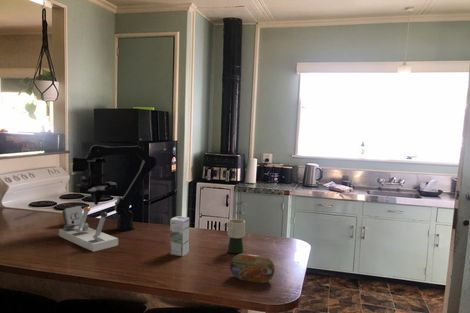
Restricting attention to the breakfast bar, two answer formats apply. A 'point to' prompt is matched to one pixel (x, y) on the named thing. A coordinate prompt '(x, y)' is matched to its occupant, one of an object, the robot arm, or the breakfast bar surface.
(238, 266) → the tin
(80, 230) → the copper ball joystick
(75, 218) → the electrical switch
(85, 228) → the push button
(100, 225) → the lever
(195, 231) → the breakfast bar surface
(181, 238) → the syrup box
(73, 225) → the block
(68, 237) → the control panel
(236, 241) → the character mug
